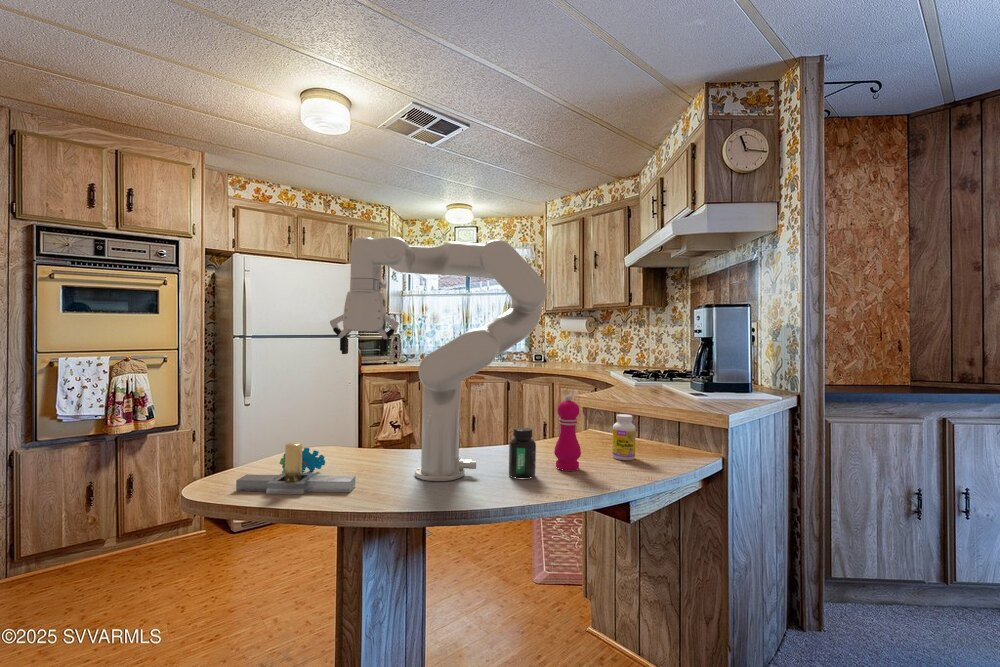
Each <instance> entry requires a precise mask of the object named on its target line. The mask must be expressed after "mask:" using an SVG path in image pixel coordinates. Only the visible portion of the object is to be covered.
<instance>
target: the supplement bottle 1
mask: <svg viewBox="0 0 1000 667" xmlns="http://www.w3.org/2000/svg"><path fill="white" fill-rule="evenodd" d="M512 436H513V438H511V440H509V445H508V475H510V476H512V477H516V478H530V477H534V478H535V476H536V467H537V466H536V465H537V463H536V462H537V461H536V460H537V444H536V441H535V440H534V439H533V438H532V437H533V429H532V428H530V427H514V428H513V433H512ZM510 476H509V477H510ZM512 477H511V478H512Z"/></svg>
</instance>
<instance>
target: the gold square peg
mask: <svg viewBox="0 0 1000 667" xmlns="http://www.w3.org/2000/svg"><path fill="white" fill-rule="evenodd" d="M284 449H285V450H284V451H285V452H284V453H285V481H301V480H302V451H303V443H302V442H290V443H286V444H285V446H284Z"/></svg>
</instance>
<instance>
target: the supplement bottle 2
mask: <svg viewBox="0 0 1000 667" xmlns="http://www.w3.org/2000/svg"><path fill="white" fill-rule="evenodd" d="M632 421H633V415H631V414H625V413H624V414H623V413H622V414H621V413H619V414H618V413H617V414H616V422H614V424H613V425H612V442H611V443H612V449H611V450H612V451H611V452H612V453H611V455H612V456H611V457H612V458H614V459H616V460H618V461H619V460H620V461H634V459H635V457H636V434H637V433H636V431H637V430H636V426H635V424H633V422H632Z"/></svg>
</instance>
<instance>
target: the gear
mask: <svg viewBox="0 0 1000 667" xmlns="http://www.w3.org/2000/svg"><path fill="white" fill-rule="evenodd" d="M319 453H320V452H319V451H318V450H313V451H312V453H311V452H310V447H304V448H303V449H302V473H304V471H306V469H308V470H309V471H310V472H313V471H315V470H316V469H317V470H321V469H322V467H323V466H325V465H326V460H325V455H323V454H319ZM318 455H319V456H318ZM279 465H282V466H281V468H282V471H281V474H282V473H285V452H284V454H283V456H282V457H281V458H280V461H279Z"/></svg>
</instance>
